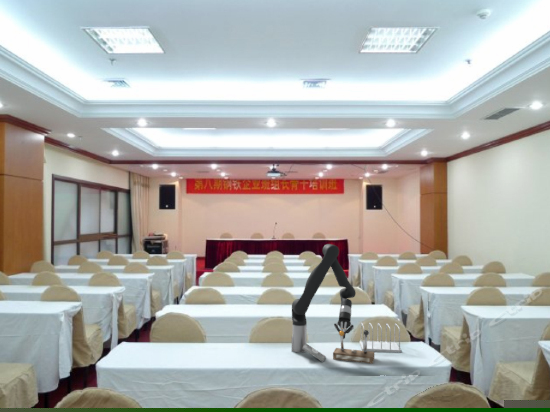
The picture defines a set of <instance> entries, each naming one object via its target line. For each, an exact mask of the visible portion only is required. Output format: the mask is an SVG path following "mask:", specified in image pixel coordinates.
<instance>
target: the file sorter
mask: <svg viewBox="0 0 550 412" xmlns="http://www.w3.org/2000/svg"><path fill="white" fill-rule="evenodd" d="M377 325H378V326H377V328H376V329H377V336H376V337H377V340H374V327H373V325H372V323H371V322H369V323H368V332H369V334H368V340H367V351H370V352H374V353H376V352H377V353H379V352H380V353H398V352H399V353H402V349H401V328H400V326H399V325H398V324H397V323H394V337H393V339H394V341H391V340H392V336H391V335H392V334H391V333H392V331H391V327H390V325H389V323H386V324H385V341H383V328H382V326H381V324H380V323H379V322H377ZM379 327H380V341H379ZM396 327H397V328H398V343H397V342H396ZM362 328H363V330H362ZM370 329H371V331H372V333H371V331H370ZM388 329H389V341H388V339H387V338H388V337H387V336H388V335H387V334H388V333H387V332H388V331H387V330H388ZM362 331H363V332H362ZM364 331H365V326H364V324H363V322H360V340H359V342H358V343H359V346H360V349H361V351H364V342H365V335H364ZM362 333H363V337H362ZM370 333H371V334H372V337H371V335H370ZM362 338H363V339H362ZM371 339H372V340H371Z"/></svg>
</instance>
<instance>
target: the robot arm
mask: <svg viewBox="0 0 550 412" xmlns="http://www.w3.org/2000/svg"><path fill="white" fill-rule="evenodd" d="M322 254H323V255H324V256H323V258H322V259H321V261H320V262H319V263H318V264H317V265H316V267H314V269H312V271H311V272H310V275H309V276H308V278H307V280H306V283H305V286H304V290H303V292H302V294H301V295H300V297H299V298H296V299H295V300H293V301H292V304H291V319H292V336H291V352H294V353H298V354H300V353H302V354H303V353H307V351H305V350H304V349H302V348H303V347H304V345H305V344H307V340H308V339H307V330H308V329H307V318H306V313H307V311H308V309H309V308H310V305H311V302H312V300H313V299H314V297H315V295H316V293H317V292H318V290H319V288H320V286H321V285H322V283H323V281H324V279H325V277H327V276H326V275H327V273H328V272H329V270H330V268H331V270H332V272H333V274H334V277H335V279H336V280H335V281H336V282H337V284H338V286H339V287H343V288H341V289H340V291H339V296H340V297H339V298H340V309H339V313H338V321H337V323H334V324H333V325H334V328H335V329H336V331H337V332H338V333H339V332H340V331H343V332H344V335H343V340H344V339H346V334H349V333H351V331H352V330H354V329H355V327H354V324H352V322H351V319H352V307H353V302H352V300H351V299H352V298H354V297H356V289H355V288H354V287H353V285H352V284H351V283H350V281H349V279H348V276H347V274H346V273H345V270H344V268H343V267H342V266H341V265H340V263H339V260H338V256H339V254H340V249H339V247H338V246H337V245H335V244H331V243H327V244H324V246H323V247H322Z"/></svg>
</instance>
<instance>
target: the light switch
mask: <svg viewBox="0 0 550 412" xmlns="http://www.w3.org/2000/svg"><path fill="white" fill-rule="evenodd" d="M302 349H304V350H305V351H306V353H308V354H310V355H311V356H313V357H315V359H318V360H319V361H320V362H322V363H323V362H324V361H325V359H326V355H324V354H323V353H321V352H320V351H318V350H316V349H315V348H313V347H312V346H311V345H309V344H305V345H304V347H303V348H302Z"/></svg>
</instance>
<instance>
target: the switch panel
mask: <svg viewBox="0 0 550 412" xmlns="http://www.w3.org/2000/svg"><path fill="white" fill-rule="evenodd" d="M332 359H333V360H336V361H337V360H338V361H346V362H355V363H365V364H371V365H372V364H374V361H375V352H373V351H367V353H364V351H362V349H361V350H360V349H359V350H357V349H350V348H344V351H341V347H340V348H339V347H336V348H335V349H334V350H333V352H332Z"/></svg>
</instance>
